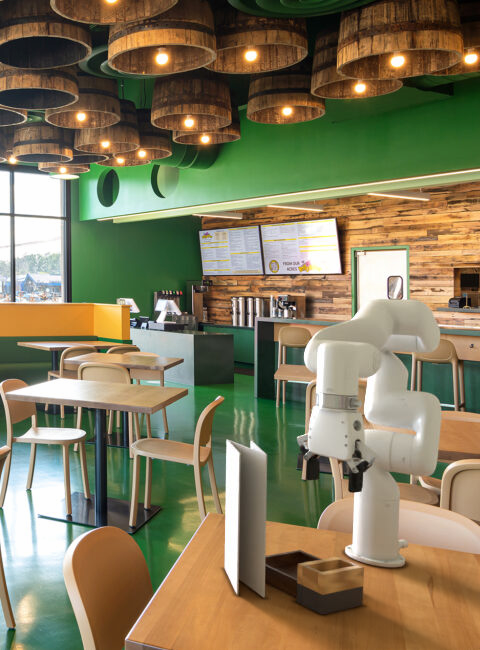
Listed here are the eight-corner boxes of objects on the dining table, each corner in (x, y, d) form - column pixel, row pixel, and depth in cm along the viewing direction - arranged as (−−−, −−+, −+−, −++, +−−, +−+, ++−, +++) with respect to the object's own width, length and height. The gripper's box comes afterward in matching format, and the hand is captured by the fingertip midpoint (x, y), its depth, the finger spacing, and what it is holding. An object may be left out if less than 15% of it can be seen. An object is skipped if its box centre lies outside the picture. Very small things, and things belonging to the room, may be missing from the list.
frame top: (336, 574, 142) (337, 556, 142) (363, 586, 137) (364, 566, 137) (296, 582, 138) (297, 563, 138) (322, 594, 132) (323, 574, 132)
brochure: (264, 597, 139) (267, 454, 138) (236, 595, 140) (239, 453, 140) (249, 570, 153) (251, 440, 152) (224, 568, 154) (226, 439, 153)
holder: (299, 564, 158) (299, 549, 158) (348, 586, 146) (348, 569, 146) (248, 574, 152) (249, 558, 152) (296, 597, 140) (296, 580, 140)
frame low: (336, 593, 142) (336, 574, 142) (362, 605, 137) (363, 586, 137) (296, 602, 138) (296, 582, 138) (321, 614, 132) (322, 594, 132)
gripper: (389, 408, 130) (386, 495, 130) (312, 396, 146) (309, 474, 146) (363, 409, 127) (360, 498, 127) (288, 397, 143) (284, 476, 143)
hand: (333, 485), depth 137 cm, fingers open, 9 cm apart
